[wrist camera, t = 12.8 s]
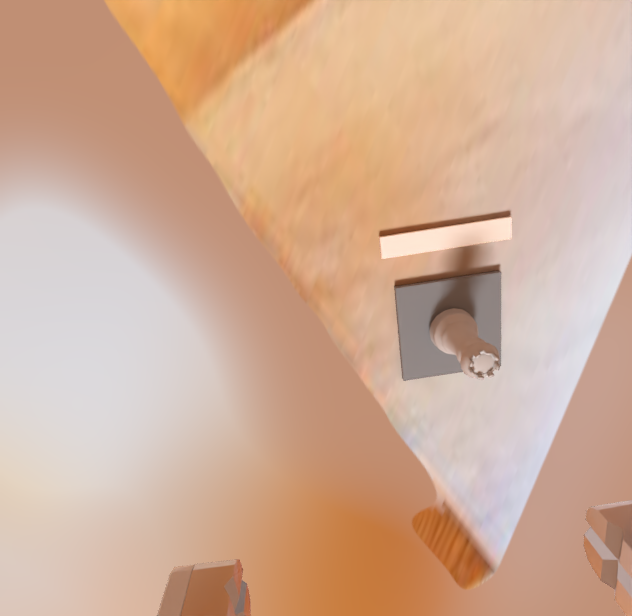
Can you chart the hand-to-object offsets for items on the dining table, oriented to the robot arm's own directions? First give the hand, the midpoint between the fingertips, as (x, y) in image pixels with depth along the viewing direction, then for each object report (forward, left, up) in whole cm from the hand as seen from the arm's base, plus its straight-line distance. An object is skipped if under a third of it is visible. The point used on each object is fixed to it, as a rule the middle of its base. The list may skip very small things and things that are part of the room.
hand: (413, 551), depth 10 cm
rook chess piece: (+9, +11, -31) cm, 34 cm away
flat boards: (+6, +11, -31) cm, 34 cm away
